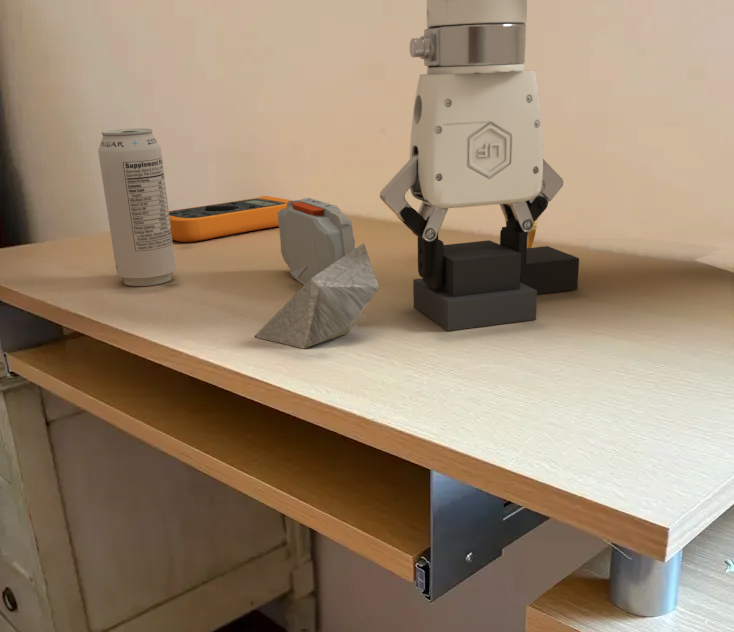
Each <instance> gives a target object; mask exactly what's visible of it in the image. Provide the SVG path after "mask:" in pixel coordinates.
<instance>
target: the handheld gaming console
mask: <svg viewBox="0 0 734 632" xmlns="http://www.w3.org/2000/svg"><path fill="white" fill-rule="evenodd" d="M277 212H278V222H279V227H278V230H279V241H280V254H281V256H282V259H283V261H284V263H285V264H286V265H287V267H288V268H289V269H290V272H293V271H296V270H298V269H301V268H304V267H308V268H307V269H306V270H305V271H304V272H303V273H302V275H301V276H300V277H299V279H300V280H301V281H302V282H303V283H304V284H306V283H307V282H308V281H309V280H310V279H311V278H313V277H314V276H316V275H317V274H318V273H320V272H321V271H323V270H324V269H326V268H327V267H329V266H330V265H332V264H333V263H335V262H336V261H338V260H339V259H341V258H342V257H343V256H345V255H346V254H348V253H349V252H351V251H352V250H354V249H355V248H356V241H355V237H354V231H353V223H352V220H351V218H349V217H348V216H347V215H346V214H345V213H344V212H343V211H342V210H341V209H340V208H339V207H338V206H337V205H336V204H332V203H328V202H325V201H321V200H318V199H315V198H311V197H304V198H301V199H295V200H292V201H289V202H288V203H287V208H285V209H282V210H280V211H277ZM290 275H291V277H293V279H294V280H296V281H297V282H298V283H300V284H302V283H301V282H300V281H299V280H298V279H296V278H295V277H294V276H293V275H292V274H291V273H290Z"/></svg>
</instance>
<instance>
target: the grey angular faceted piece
mask: <svg viewBox="0 0 734 632" xmlns="http://www.w3.org/2000/svg"><path fill="white" fill-rule="evenodd" d="M307 268H308V267H304V268H301V269H298V270H296V271H293V272H291V271H290V272H289V273H290V275H291V274H292V275H293V276H294V277H295V278H296V279H298V280H299V281H300V282H301V283H300V282H299V281H298V282H299V283H300V284H302V285H303V286H302V287H301V288H300V289H299V290H298V291H297V292H296V293H295V294H294V295H293V296H292V297H291V299H289V300H288V301H287V302H286V304H285V305H283V306H282V307H281V308H280V310H279V311H277V312H276V314H274V316H272V318H271V319H270V320H269V321H268V322H267V323H266V324H265V325H264V326H263V327H262V328H261V329H260V330H259V331H258V332H257V333H256V334H255V335H254V336H253V337H254V338H258V339H262V340H266V341H270V342H275V343H279V344H283V345H288V346H292V347H295V348H296V347H297V348H301V349H308V348H310V347H314V346H316V345H319V344H322V343H325V342H327V341H330V340H333V339H336V338H339V337H341V336H345V335H347V334H349V333H350V332H351V330H352V328H353V327H354V325H355V324H356V322H357V321H358V319H359V318H360V316H361V315H362V313H363V312H364V311H365V309H366V307H367V306H368V304H369V303H370V301H371V300H372V298H373V297H374V295H375V293H376V292H377V291H378V289H379V286H380V285H379V284H378V280H377V277H376V273H375V271H374V267H373V266H372V262H371V260H370V257H369V253H368V250H367V248H366V244H365V242H363V243H361V244H359V245H358V246H357V247H355V249H354V250H352V251H351V252H349V253H348V254H346V255H345V256H343V257H342V258H341V259H339V260H338V261H336V262H335V263H333V264H332V265H330V266H329V267H327V268H326V269H324V270H323V271H321V272H320V273H318V274H317V275H316V276H314V277H313V278H311V279H310V280H309V281H308V282H307V283H306V284H304V283H303V282H302V281H301V280H300V279H299V277H300V276H301V275H302V273H303V272H304V271H305V270H306V269H307ZM292 275H291V276H292ZM295 278H294V279H295ZM296 279H295V280H296Z"/></svg>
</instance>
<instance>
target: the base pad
mask: <svg viewBox="0 0 734 632" xmlns="http://www.w3.org/2000/svg"><path fill="white" fill-rule="evenodd" d="M412 287H413V288H412V291H413V294H412V297H413V308H415V309H416V310H418V312H420V313H421V314H423V315H425V316H426V317H428V318H429V319H430V320H431V321H433V322H435V324H437V325H438V326H440V327H441V328H443V329H444V330H445V331H447V332H452V331H461V330H465V329H466V330H467V329H473V328H482V327H488V326H489V327H490V326H497V325H504V324H511V323H512V324H513V323H519V322H527V321H534V320H537V309H538V294H537V290H535V289H533V288H531V287H529V286H527V285H525V284H523V283H521V282H520V289H516V290H507V291H499V292H491V293H482V294H474V295H466V296H457V297H452V296H451V295H449V294H448V293H446V292H444V291H443V290H441V289H434V288H432V287H431V286H429V285H427V284H426V283H424V282H423V278H422V277H421V278H413V280H412Z"/></svg>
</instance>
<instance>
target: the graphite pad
mask: <svg viewBox="0 0 734 632" xmlns="http://www.w3.org/2000/svg"><path fill="white" fill-rule="evenodd" d="M579 267H580V258H579V257H577V256H575V255H572V254H569V253H568V252H564V251H561V250H560V249H557V248H554V247H551V246H549V245H543V246H535V247H531V248H527V257H526V265H525V266H524V267H523V277H522V279H520V282H521V283H523V284H525V285H527V286H529V287H531V288H533V289H535V290H537V295H543V294H552V293H553V294H554V293H560V292H561V293H562V292H568V291H577V290H578V285H579V270H580V268H579Z"/></svg>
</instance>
